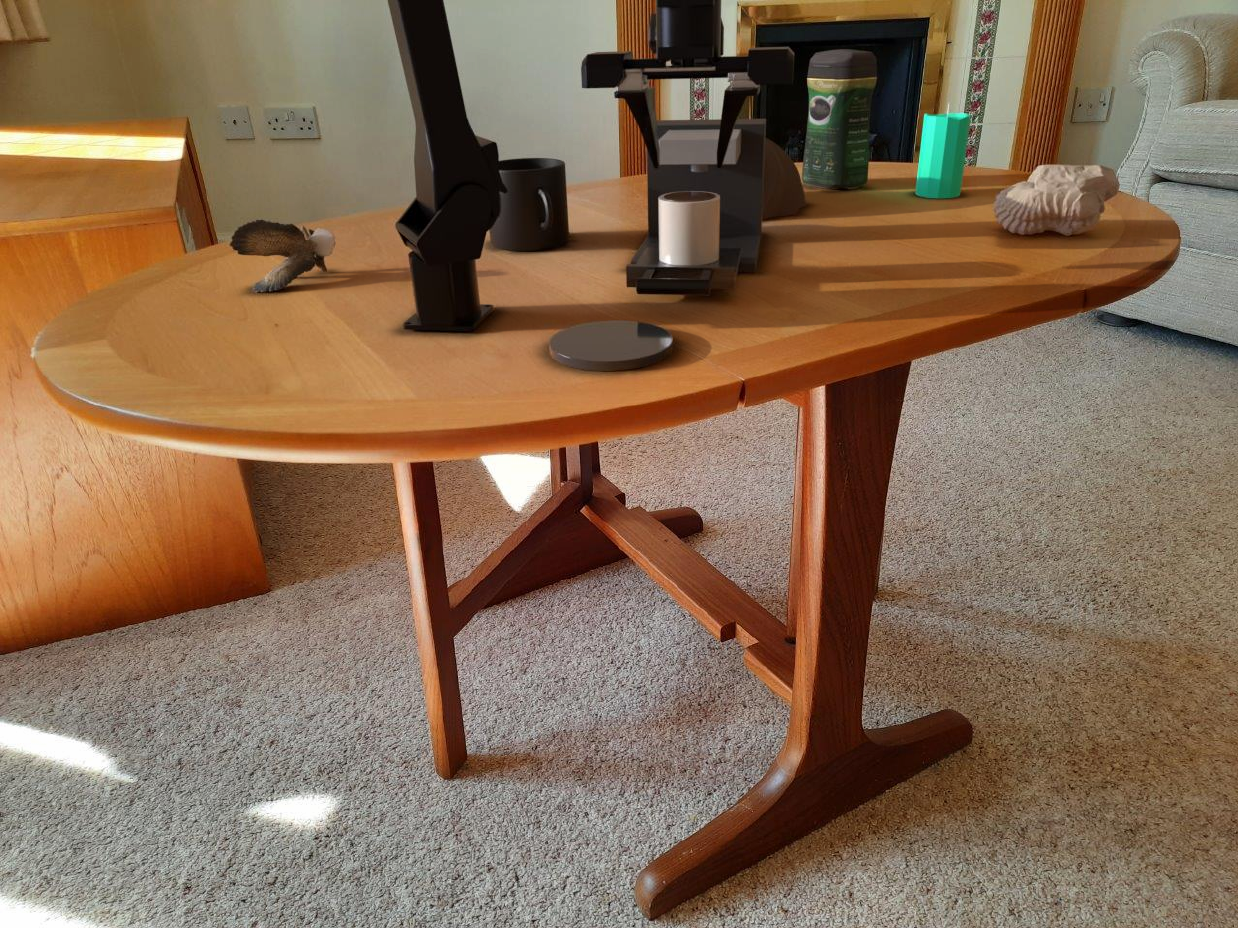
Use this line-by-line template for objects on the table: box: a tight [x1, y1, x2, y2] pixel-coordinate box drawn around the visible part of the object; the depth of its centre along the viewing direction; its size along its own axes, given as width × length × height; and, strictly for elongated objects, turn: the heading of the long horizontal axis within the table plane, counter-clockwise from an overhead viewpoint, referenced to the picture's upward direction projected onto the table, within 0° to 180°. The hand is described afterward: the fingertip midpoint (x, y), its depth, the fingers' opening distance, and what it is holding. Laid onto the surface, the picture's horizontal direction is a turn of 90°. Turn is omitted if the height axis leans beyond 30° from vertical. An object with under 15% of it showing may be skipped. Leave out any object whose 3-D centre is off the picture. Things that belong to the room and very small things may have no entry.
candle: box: [914, 102, 972, 199], centre depth 122 cm, size 6×6×12 cm
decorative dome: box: [762, 137, 807, 221], centre depth 119 cm, size 19×20×10 cm
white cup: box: [658, 191, 720, 265], centre depth 87 cm, size 6×6×6 cm
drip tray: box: [625, 247, 742, 296], centre depth 85 cm, size 18×10×2 cm, turn 170°
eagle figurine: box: [228, 219, 336, 293], centre depth 93 cm, size 8×7×9 cm
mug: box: [488, 157, 570, 252], centre depth 103 cm, size 9×12×9 cm
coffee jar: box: [801, 48, 878, 190], centre depth 129 cm, size 10×8×19 cm
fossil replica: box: [992, 163, 1121, 237], centre depth 100 cm, size 12×8×10 cm
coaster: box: [548, 320, 674, 372], centre depth 72 cm, size 10×10×1 cm
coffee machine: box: [629, 118, 767, 274], centre depth 97 cm, size 18×13×13 cm
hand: (687, 168), depth 84 cm, fingers open, 6 cm apart
